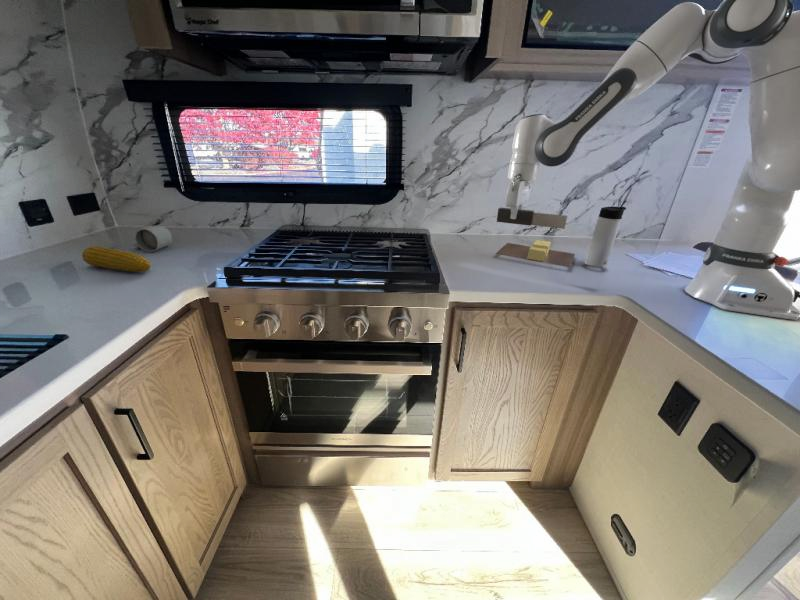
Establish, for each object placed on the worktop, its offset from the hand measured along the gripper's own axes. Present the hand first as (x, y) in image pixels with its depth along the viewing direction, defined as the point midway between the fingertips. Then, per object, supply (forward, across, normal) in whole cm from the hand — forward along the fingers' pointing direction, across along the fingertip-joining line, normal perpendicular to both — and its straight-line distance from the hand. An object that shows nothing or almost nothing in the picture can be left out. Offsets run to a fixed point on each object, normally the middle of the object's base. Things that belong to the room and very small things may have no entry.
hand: (514, 217), depth 110 cm
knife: (+2, 0, -5) cm, 5 cm away
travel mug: (+14, +7, -27) cm, 31 cm away
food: (+13, -78, +91) cm, 121 cm away
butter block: (+13, +9, -9) cm, 18 cm away
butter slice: (+13, 0, -9) cm, 16 cm away
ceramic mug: (+13, -63, +104) cm, 122 cm away
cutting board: (+14, +7, -8) cm, 18 cm away
